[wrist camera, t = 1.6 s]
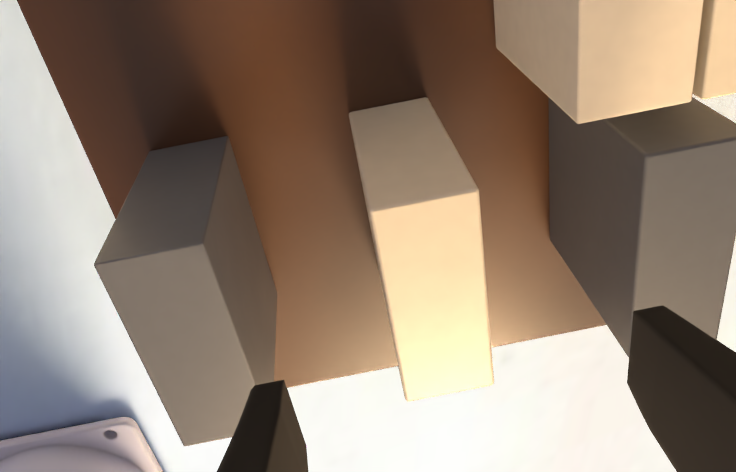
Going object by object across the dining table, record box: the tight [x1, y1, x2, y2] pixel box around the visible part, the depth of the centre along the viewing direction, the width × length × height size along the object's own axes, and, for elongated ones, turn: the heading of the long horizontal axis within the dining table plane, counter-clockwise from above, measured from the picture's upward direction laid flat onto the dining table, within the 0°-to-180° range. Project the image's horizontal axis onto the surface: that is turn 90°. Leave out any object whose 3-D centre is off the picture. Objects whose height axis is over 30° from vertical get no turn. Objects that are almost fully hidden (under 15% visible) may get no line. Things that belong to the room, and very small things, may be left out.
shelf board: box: [17, 0, 607, 388], centre depth 19 cm, size 18×19×1 cm
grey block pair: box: [94, 97, 736, 446], centre depth 17 cm, size 14×6×6 cm, turn 99°
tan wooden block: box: [349, 97, 494, 401], centre depth 17 cm, size 2×6×6 cm, turn 9°
